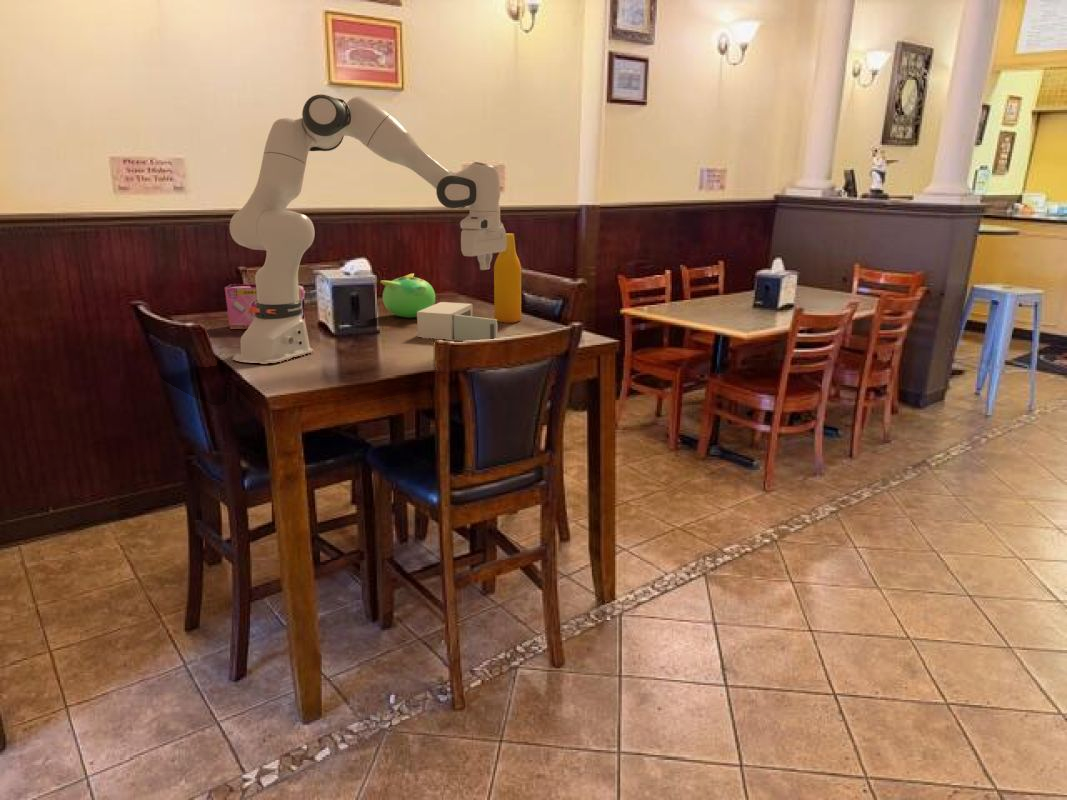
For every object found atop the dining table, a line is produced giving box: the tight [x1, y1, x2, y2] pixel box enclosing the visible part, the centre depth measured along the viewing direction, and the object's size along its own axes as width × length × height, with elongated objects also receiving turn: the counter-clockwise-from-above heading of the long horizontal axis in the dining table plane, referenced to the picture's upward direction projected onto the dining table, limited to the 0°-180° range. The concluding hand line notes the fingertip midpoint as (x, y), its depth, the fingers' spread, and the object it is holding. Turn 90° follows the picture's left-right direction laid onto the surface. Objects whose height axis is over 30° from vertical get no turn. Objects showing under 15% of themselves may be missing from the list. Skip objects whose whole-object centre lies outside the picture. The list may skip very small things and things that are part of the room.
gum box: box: [223, 283, 306, 326], centre depth 242 cm, size 24×8×14 cm, turn 96°
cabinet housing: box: [416, 301, 474, 341], centre depth 237 cm, size 20×11×8 cm, turn 163°
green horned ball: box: [379, 273, 436, 319], centre depth 258 cm, size 18×17×15 cm
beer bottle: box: [493, 232, 522, 324], centre depth 252 cm, size 9×9×29 cm
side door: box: [452, 314, 499, 342], centre depth 223 cm, size 16×2×8 cm, turn 61°
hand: (484, 269), depth 221 cm, fingers closed
